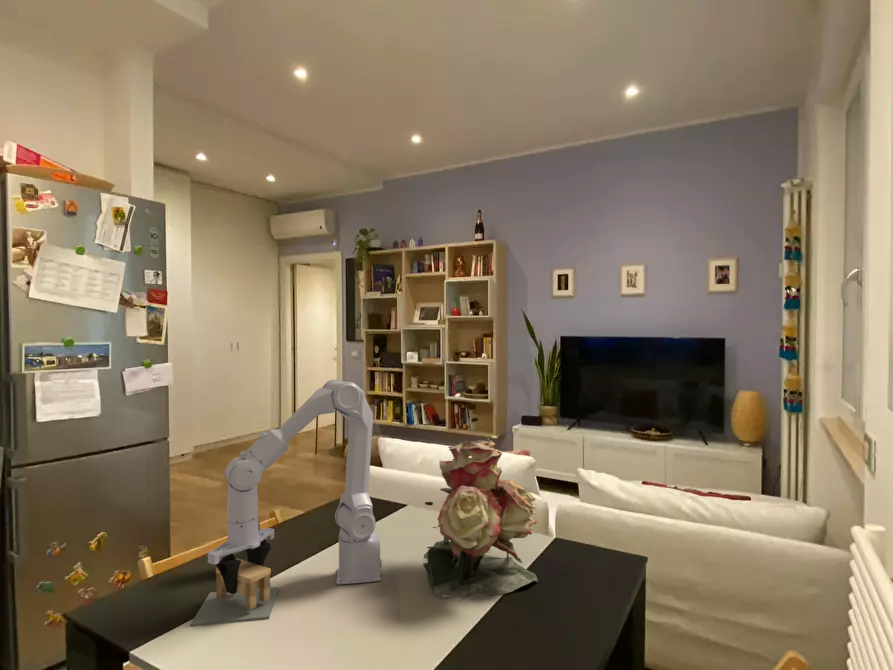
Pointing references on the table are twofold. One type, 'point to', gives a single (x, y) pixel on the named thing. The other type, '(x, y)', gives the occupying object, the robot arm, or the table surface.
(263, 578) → the oak stool
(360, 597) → the table surface
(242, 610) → the grey mat
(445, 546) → the rose bouquet
